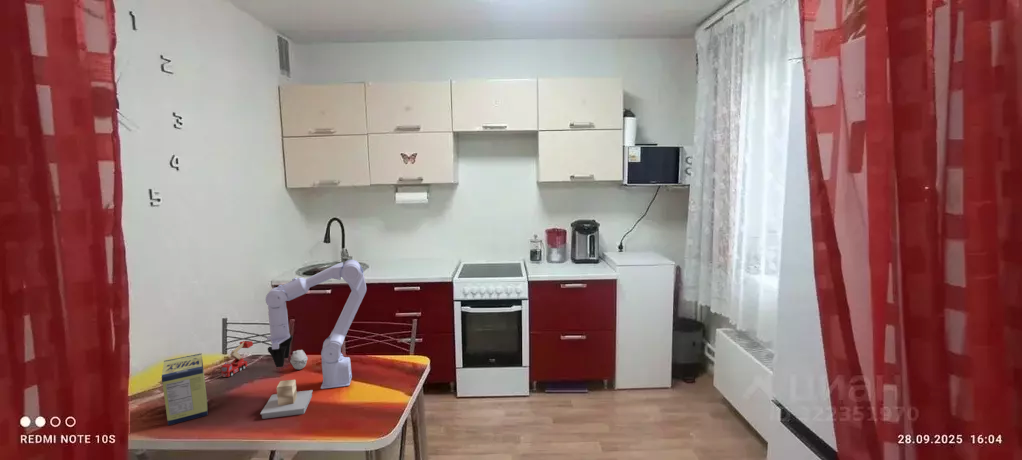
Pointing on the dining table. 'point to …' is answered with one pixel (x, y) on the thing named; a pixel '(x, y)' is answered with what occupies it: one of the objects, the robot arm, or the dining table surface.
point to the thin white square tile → (287, 406)
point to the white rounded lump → (298, 359)
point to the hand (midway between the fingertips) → (282, 362)
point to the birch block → (286, 392)
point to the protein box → (184, 388)
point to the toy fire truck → (236, 361)
